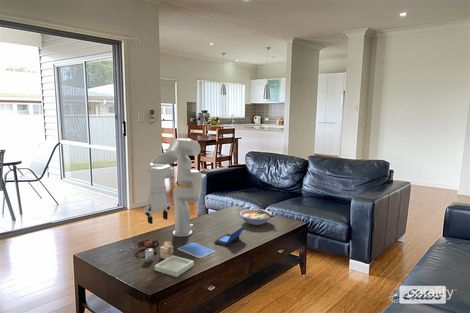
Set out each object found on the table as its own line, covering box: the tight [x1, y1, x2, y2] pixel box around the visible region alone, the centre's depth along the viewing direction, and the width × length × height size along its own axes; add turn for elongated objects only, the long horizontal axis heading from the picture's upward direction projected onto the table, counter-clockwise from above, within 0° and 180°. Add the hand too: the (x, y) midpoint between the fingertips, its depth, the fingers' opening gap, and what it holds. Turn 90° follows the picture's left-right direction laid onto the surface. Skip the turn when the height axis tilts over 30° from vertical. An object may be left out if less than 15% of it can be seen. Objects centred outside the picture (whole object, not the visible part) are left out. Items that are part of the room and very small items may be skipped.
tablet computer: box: [177, 242, 216, 259], centre depth 192 cm, size 19×13×1 cm, turn 49°
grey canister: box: [144, 248, 155, 263], centre depth 178 cm, size 4×4×6 cm
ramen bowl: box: [239, 207, 275, 226], centre depth 238 cm, size 25×23×8 cm
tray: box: [154, 254, 195, 278], centre depth 170 cm, size 14×14×2 cm
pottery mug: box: [137, 238, 160, 254], centre depth 190 cm, size 12×10×8 cm
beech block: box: [159, 244, 174, 260], centre depth 183 cm, size 5×5×6 cm
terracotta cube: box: [162, 241, 173, 246], centre depth 193 cm, size 4×4×4 cm
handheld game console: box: [214, 226, 245, 248], centre depth 204 cm, size 16×13×9 cm
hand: (157, 221), depth 179 cm, fingers open, 9 cm apart
